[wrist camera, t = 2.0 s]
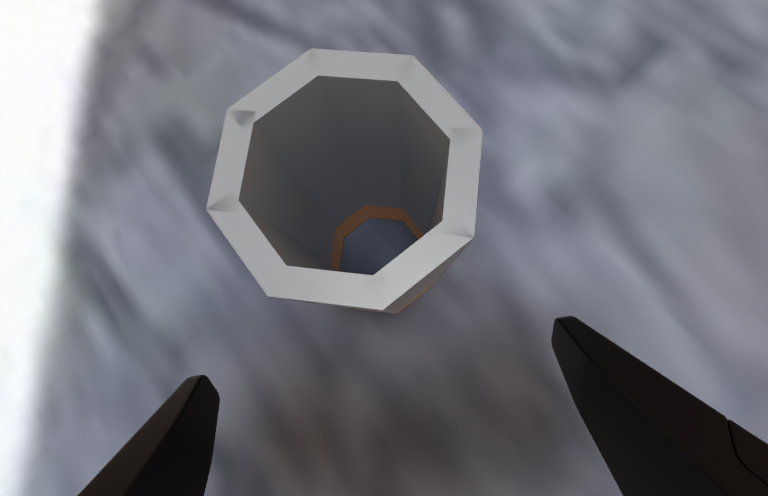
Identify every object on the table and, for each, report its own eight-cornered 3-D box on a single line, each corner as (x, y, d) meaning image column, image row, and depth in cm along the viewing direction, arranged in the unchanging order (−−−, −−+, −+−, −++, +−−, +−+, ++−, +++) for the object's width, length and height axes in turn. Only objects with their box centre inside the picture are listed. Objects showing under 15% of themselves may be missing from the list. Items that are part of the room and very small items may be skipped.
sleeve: (456, 266, 21) (536, 187, 8) (372, 334, 20) (315, 363, 8) (389, 187, 22) (368, 6, 9) (308, 250, 22) (165, 153, 9)
